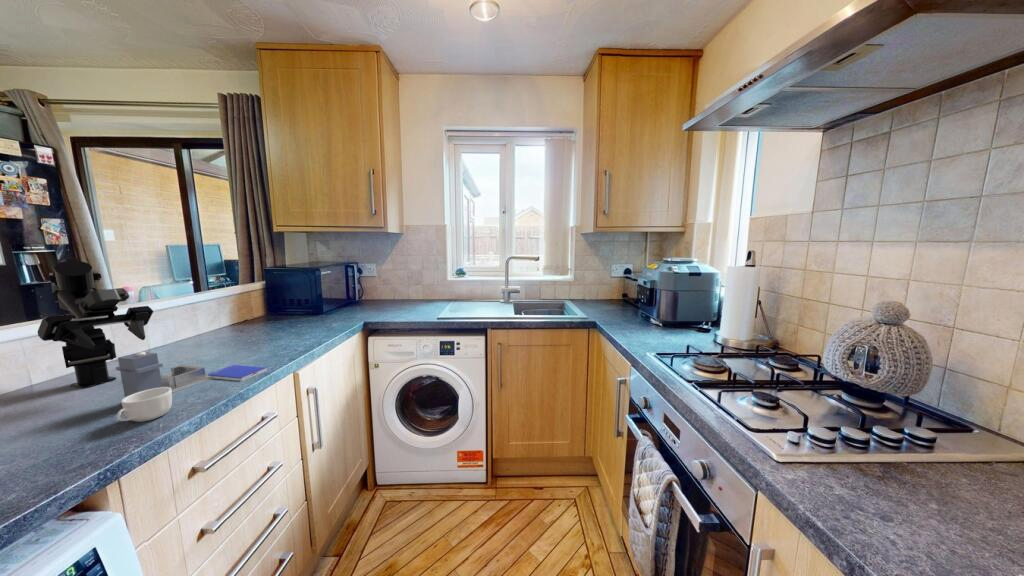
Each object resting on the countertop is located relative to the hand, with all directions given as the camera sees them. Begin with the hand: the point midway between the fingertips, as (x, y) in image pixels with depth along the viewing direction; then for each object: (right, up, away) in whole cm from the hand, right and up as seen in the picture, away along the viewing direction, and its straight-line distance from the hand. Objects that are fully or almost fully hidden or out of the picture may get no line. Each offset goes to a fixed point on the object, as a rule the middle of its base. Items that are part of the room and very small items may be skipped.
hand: (120, 343), depth 84 cm
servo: (+7, -15, -1) cm, 16 cm away
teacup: (+17, -16, -10) cm, 25 cm away
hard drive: (+17, -13, +16) cm, 27 cm away
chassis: (+4, -13, +10) cm, 17 cm away
